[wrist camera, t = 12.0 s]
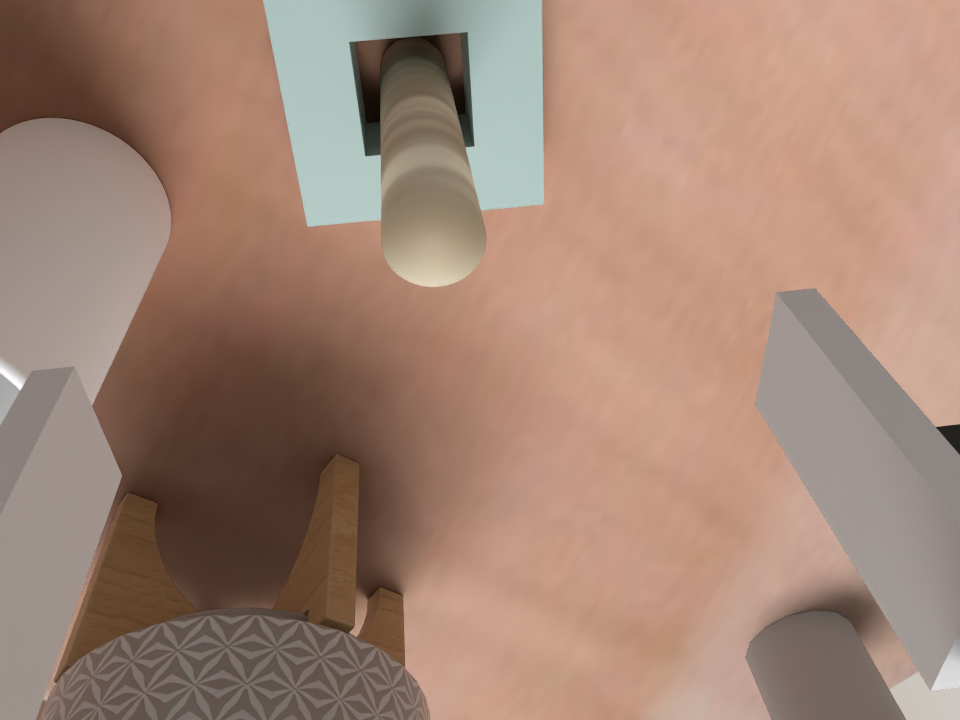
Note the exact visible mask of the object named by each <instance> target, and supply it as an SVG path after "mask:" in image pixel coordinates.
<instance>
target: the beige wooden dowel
mask: <svg viewBox="0 0 960 720" xmlns="http://www.w3.org/2000/svg"><path fill="white" fill-rule="evenodd" d="M380 126H381V245H382V250H383V254H384V257H385V259H386V261H387V263H388V264H389V266H390V267H391V268H392V269H393V270H394V272H395V273H396V274H398V275H399V276H400V277H402V278H403V279H405V280H407V281H409V282H411V283H413V284H417V285H420V286H426V287H440V286H446V285H449V284H452V283H455V282H457V281H459V280H461V279H463V278H464V277H466V276H467V275H469V274H470V273H471V272H472V271H473V270H474V269H475V267H476V266H477V265H478V264H479V262H480V260H481V258H482V256H483V254H484V251H485V247H486V230H485V226H484V222H483V218H482V213H481V209H480V205H479V201H478V197H477V193H476V189H475V185H474V181H473V177H472V172H471V168H470V164H469V160H468V156H467V152H466V148H465V144H464V140H463V135H462V131H461V127H460V123H459V119H458V115H457V111H456V107H455V103H454V99H453V94H452V90H451V86H450V82H449V78H448V74H447V70H446V66H445V62H444V59H443V56H442V55H441V53H440V51H439V50H438V49H437V48H436V47H435V46H434V45H433V44H432V43H430V42H429V41H427V40H424V39H422V38H417V37H408V38H403V39H400V40H398V41H396V42H395V43H393V44H392V45H391V46H390V47H389V48H388V49H387V50H386V52H385V53H384V55H383V58H382V61H381V65H380Z"/></svg>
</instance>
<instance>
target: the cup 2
mask: <svg viewBox="0 0 960 720" xmlns="http://www.w3.org/2000/svg"><path fill="white" fill-rule="evenodd" d="M745 658H746V660H747V662H748V665H749V667H750V669H751V672H752V674H753V677H754V679H755V681H756V684H757V686H758V688H759V691H760V693H761V695H762V698H763V700H764V703H765V705H766V707H767V710H768V712H769V714H770V717H771V719H772V720H906V719H905V717H904V715H903V713H902V712H901V710H900V708H899V706H898V705H897V703H896V701H895V699H894V698H893V696H892V694H891V692H890V690H889V689H888V687H887V685H886V683H885V682H884V680H883V678H882V676H881V674H880V673H879V671H878V669H877V667H876V666H875V664H874V662H873V660H872V659H871V657H870V655H869V653H868V652H867V650H866V648H865V646H864V645H863V643H862V641H861V639H860V637H859V636H858V634H857V632H856V630H855V629H854V627H853V625H852V623H851V622H850V620H848V619H846V618H845V617H843V616H841V615H840V614H838V613H836V612H829V611H816V610H812V611H808V612H803V613H799V614H794V615H789V616H787V617H785V618H783V619H781V620H779V621H777V622H775V623H773V624H771V625H769V626H767V627H765V628H764V629H763V630H762V631H761V632H760V633H759V634H758V635H757V636H756V637H755V638H754V639H753V640H752V641H751V642H750V645H749V648H748V651H747V654H746V657H745Z"/></svg>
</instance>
